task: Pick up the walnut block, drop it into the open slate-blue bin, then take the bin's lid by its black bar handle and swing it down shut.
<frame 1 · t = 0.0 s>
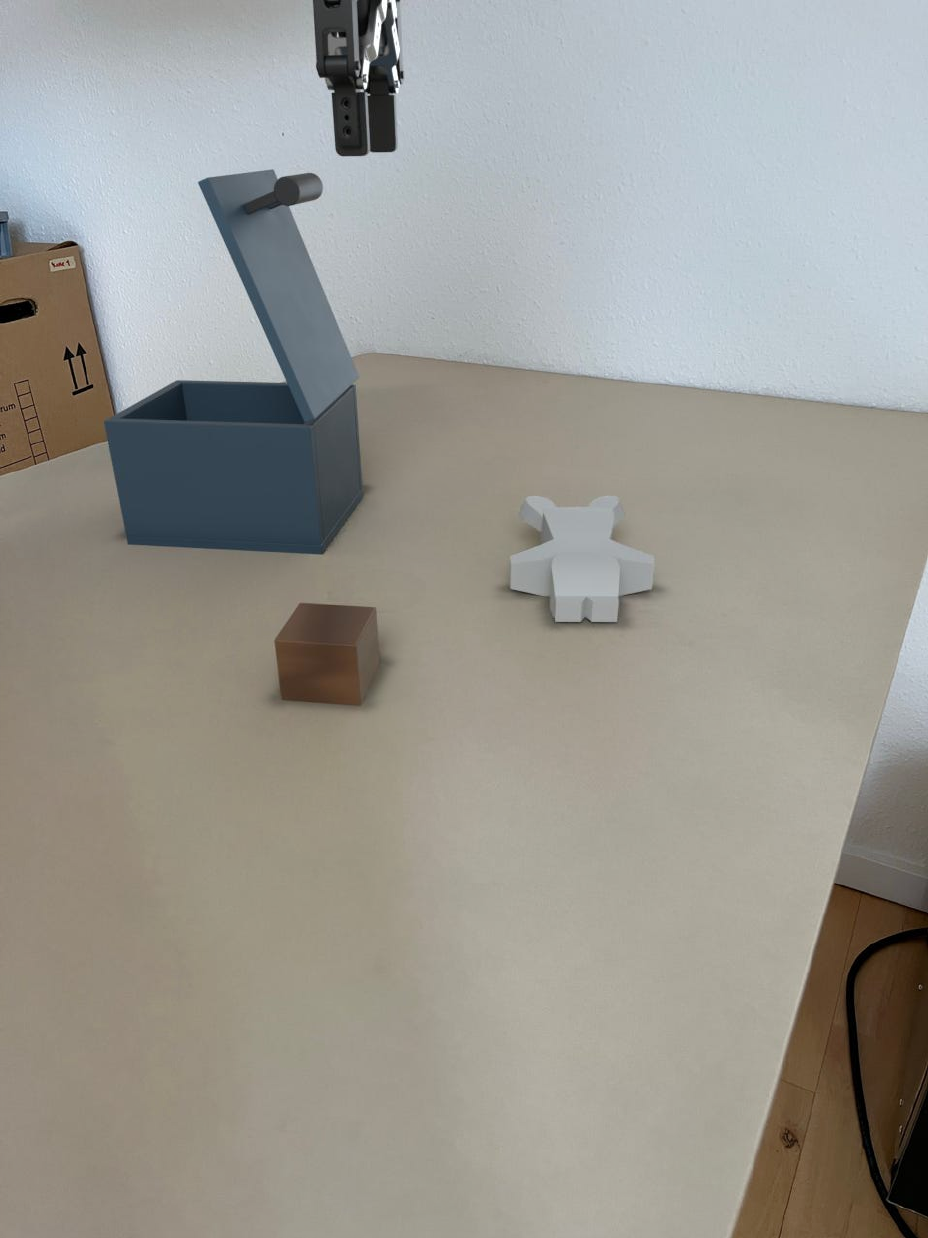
hand: (368, 153, 66), 27 cm above the table, tool pointing down, fingers open, 8 cm apart
bin: (252, 519, 77), on the table
bin lid: (314, 281, 68), point 19 cm above the table, hinge at 70.0°
block: (333, 692, 53), on the table
white teddy bear figure: (576, 587, 66), on the table
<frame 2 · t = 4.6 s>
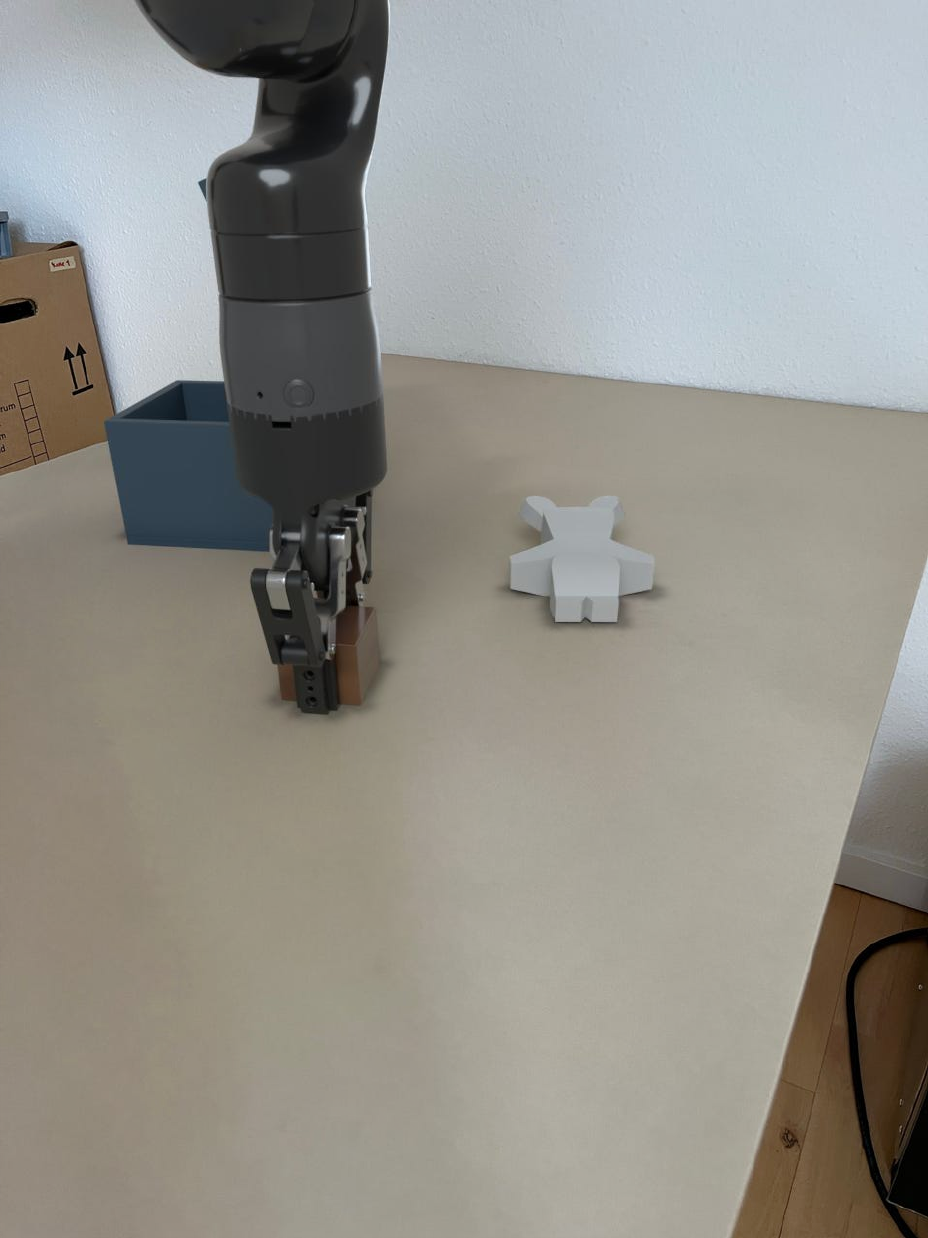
hand: (332, 688, 53), 0 cm above the table, tool pointing down, fingers closed on block, 4 cm apart
block: (333, 692, 53), on the table, touching gripper
everything else where it was.
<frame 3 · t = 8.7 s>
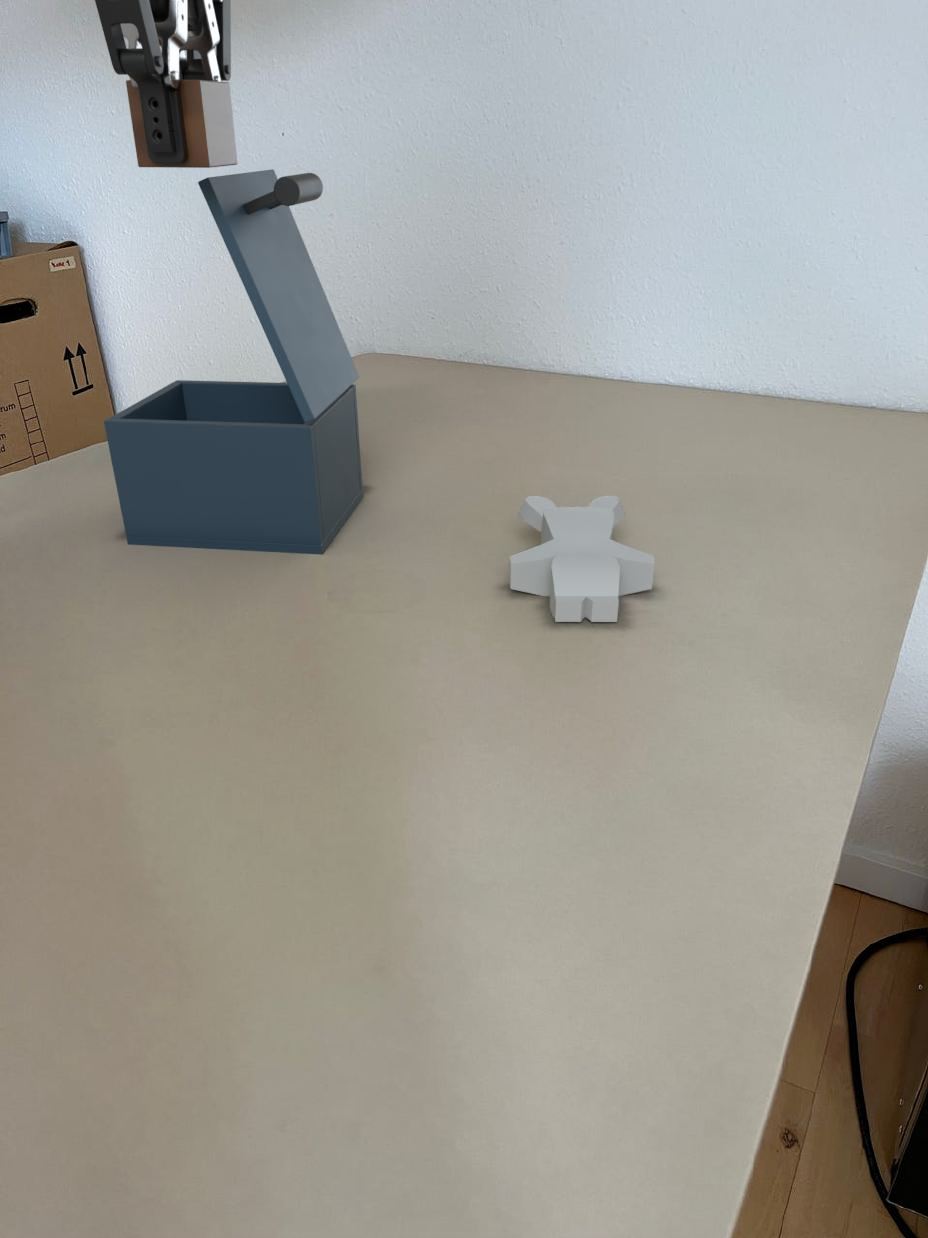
hand: (187, 159, 57), 27 cm above the table, tool pointing down, fingers closed on block, 4 cm apart
block: (189, 165, 57), point 27 cm above the table, touching gripper
everything else where it was.
when the fingers open (7 cm above the table, at t = 13.2 s): block drops 6 cm, resting on bin.
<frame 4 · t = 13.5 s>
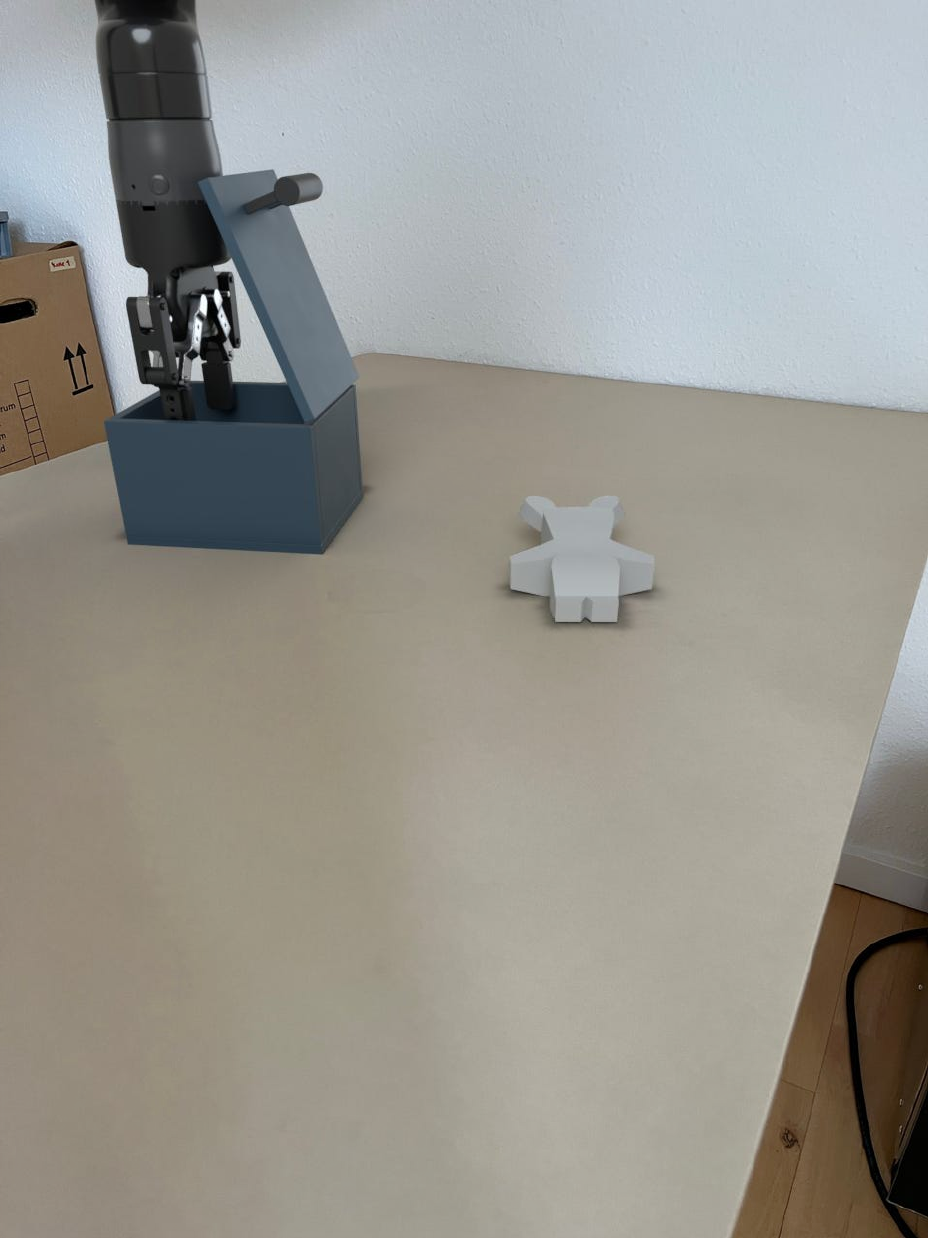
hand: (203, 421, 74), 8 cm above the table, tool pointing down, fingers open, 7 cm apart
block: (217, 508, 77), point 1 cm above the table, touching bin
everything else where it was.
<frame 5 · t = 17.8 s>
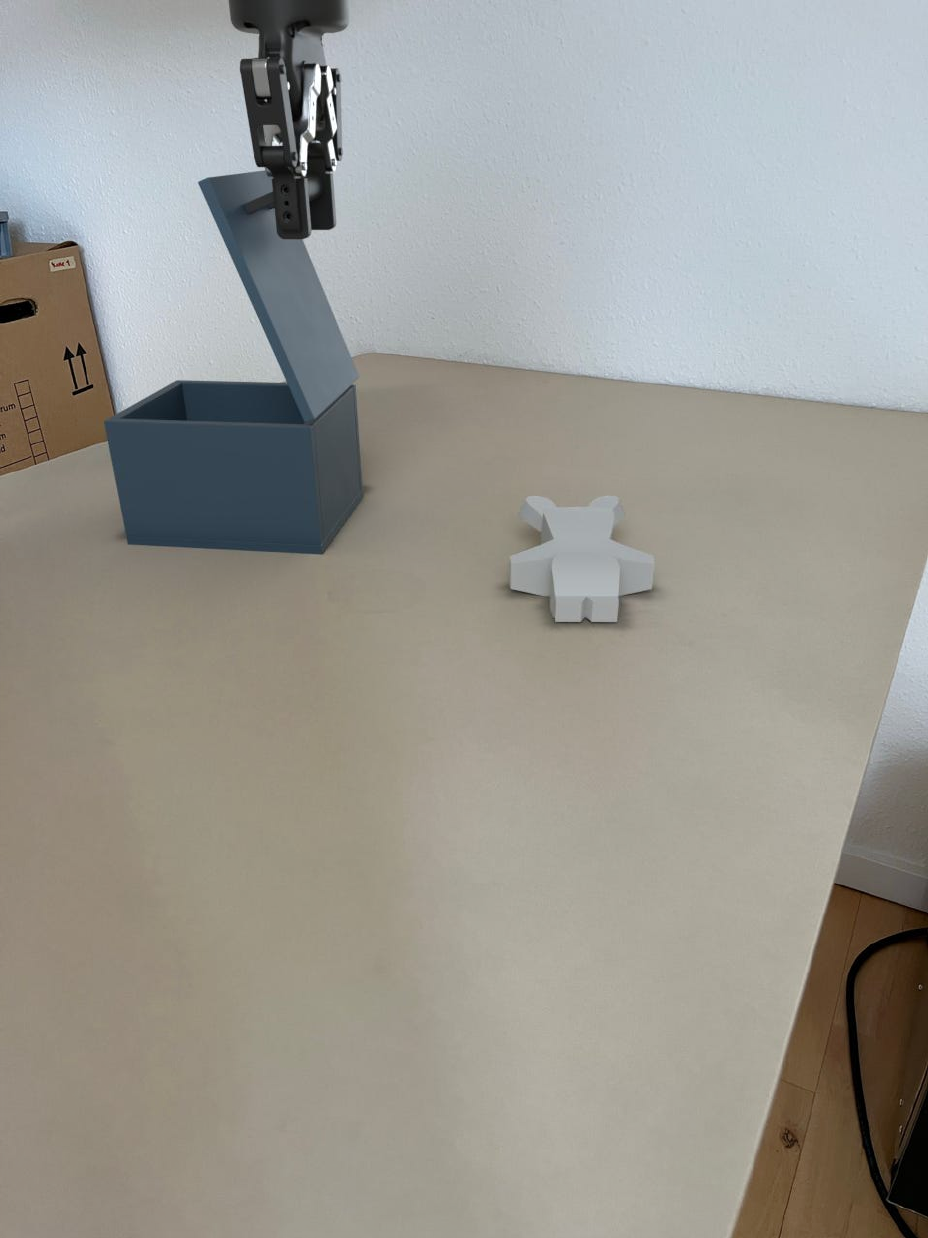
hand: (308, 232, 66), 22 cm above the table, tool pointing down, fingers closed on bin lid, 5 cm apart
bin lid: (314, 281, 68), point 19 cm above the table, hinge at 70.0°, touching gripper
everything else where it was.
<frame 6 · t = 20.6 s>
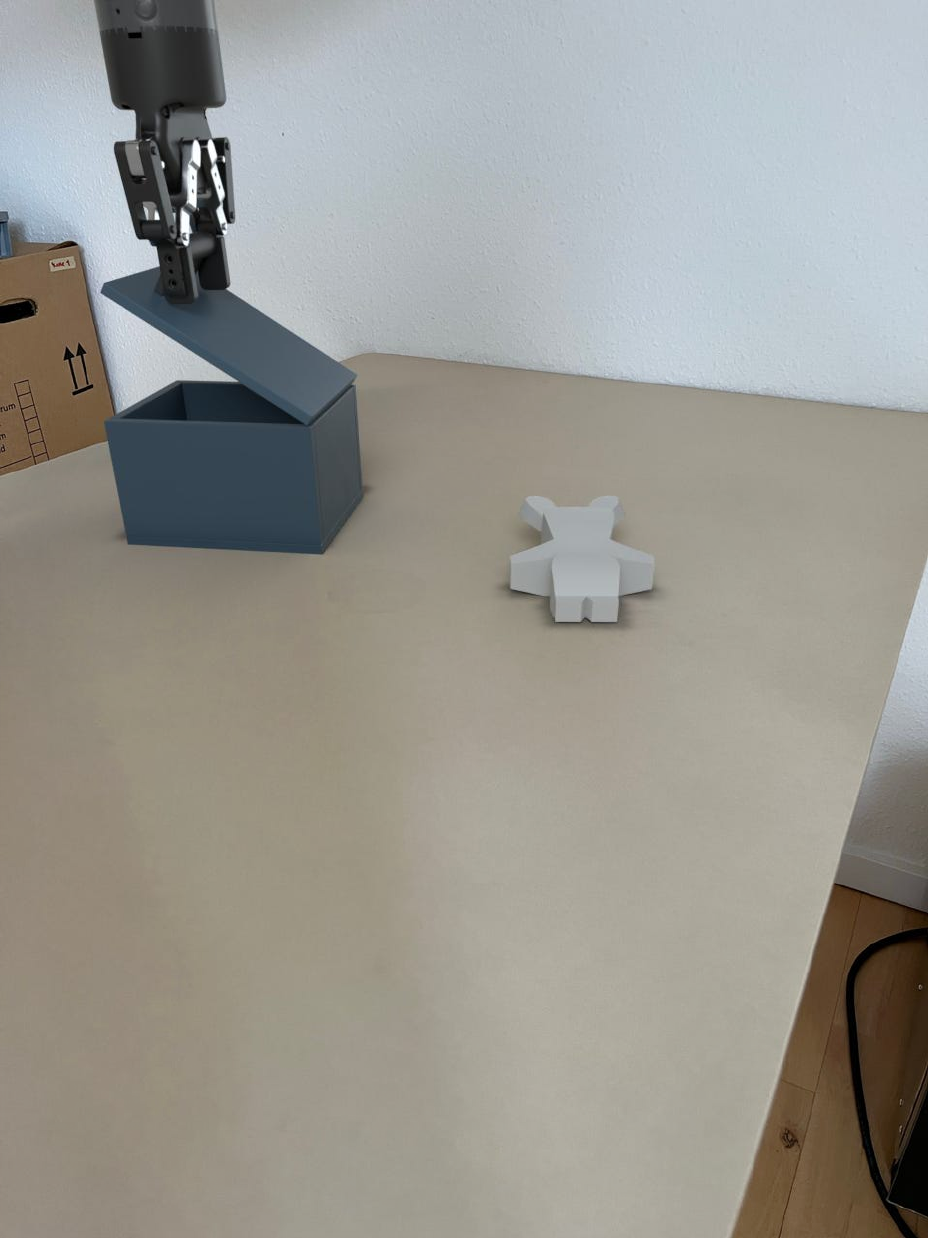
hand: (199, 294, 69), 18 cm above the table, tool pointing down, fingers closed on bin lid, 5 cm apart
bin lid: (251, 313, 69), point 16 cm above the table, hinge at 32.5°, touching gripper
everything else where it was.
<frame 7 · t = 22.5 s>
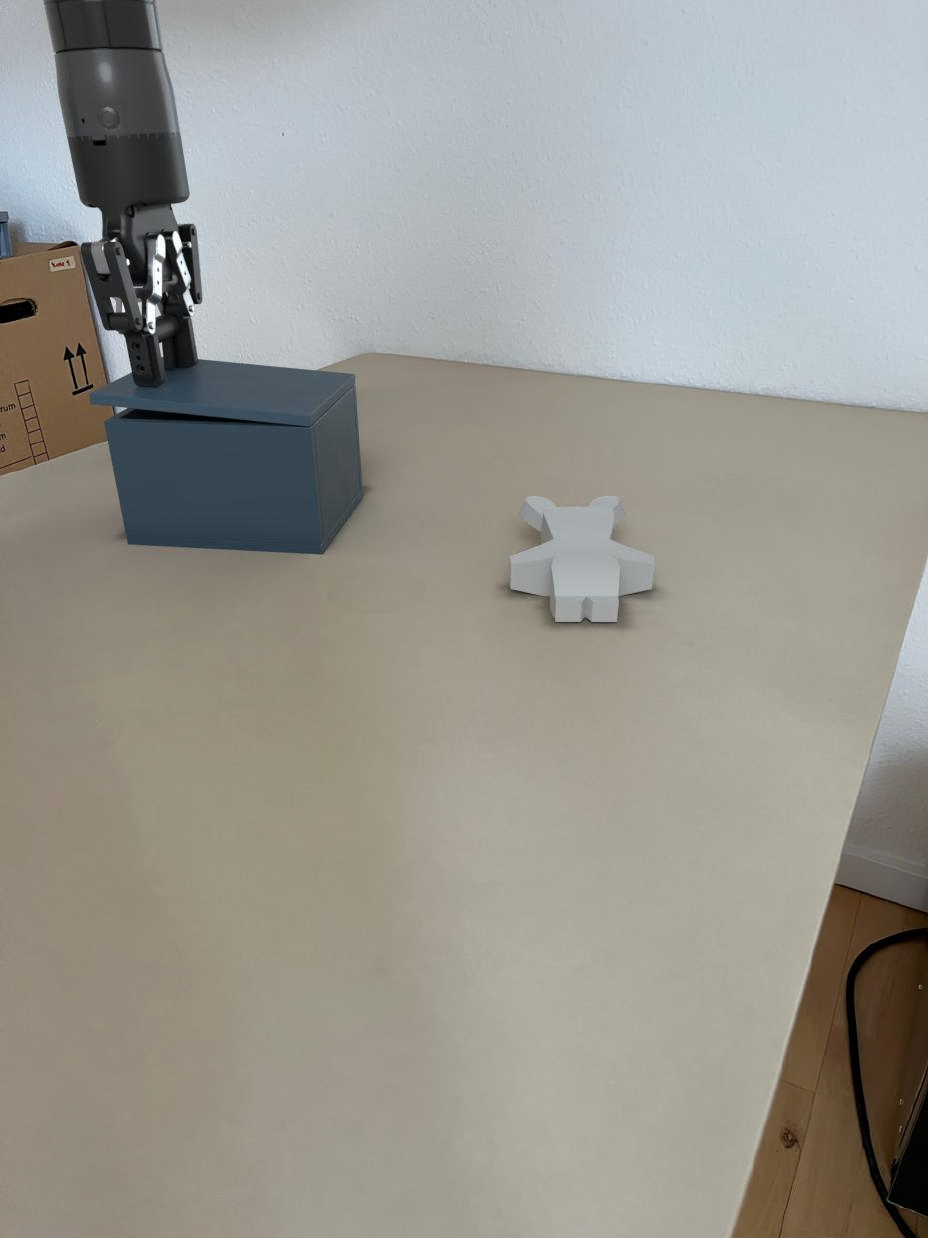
hand: (167, 374, 73), 12 cm above the table, tool pointing down, fingers closed on bin lid, 5 cm apart
bin lid: (229, 360, 71), point 13 cm above the table, hinge at 4.1°, touching gripper
everything else where it was.
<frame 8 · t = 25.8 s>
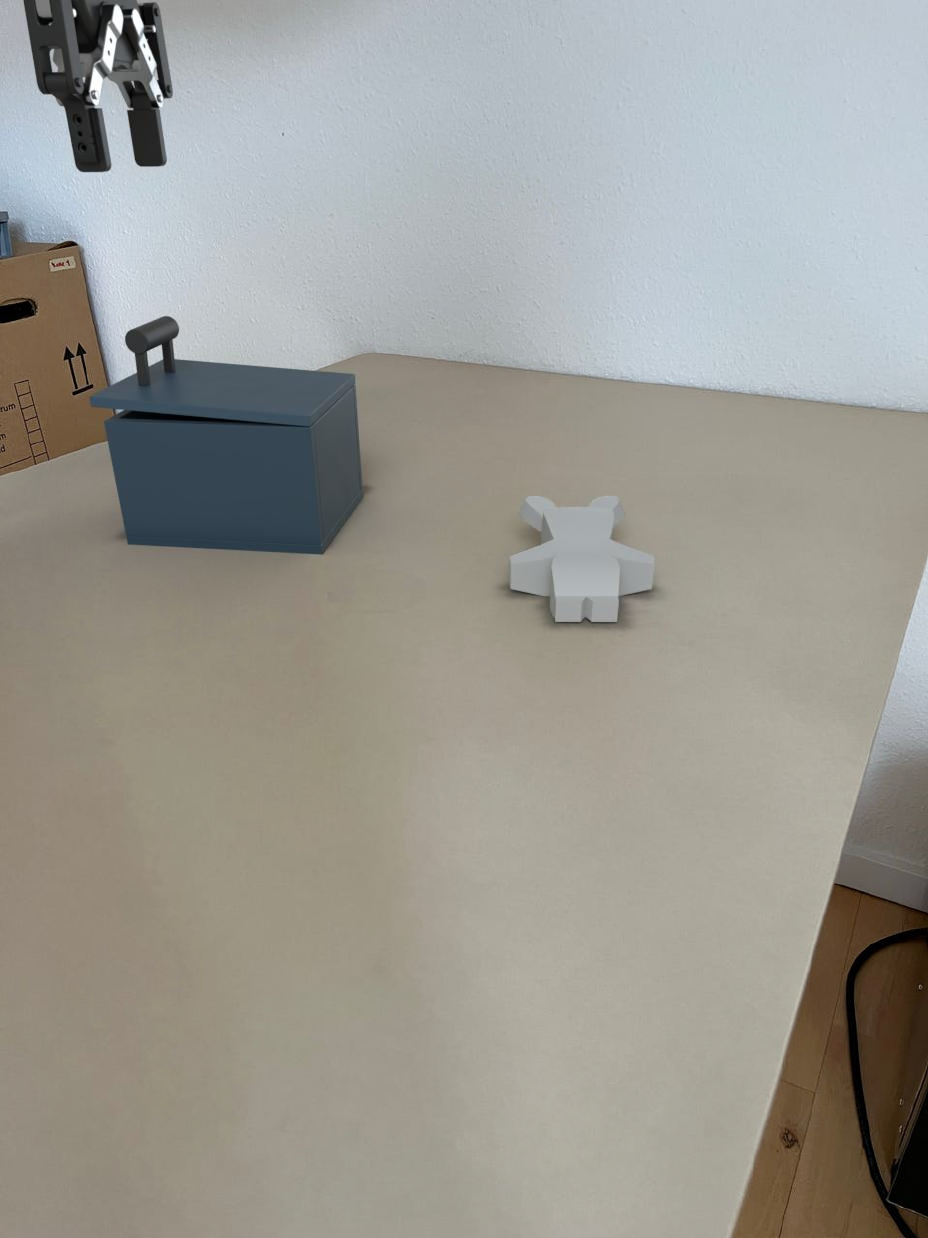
hand: (124, 168, 66), 26 cm above the table, tool pointing down, fingers open, 8 cm apart
bin lid: (228, 361, 71), point 13 cm above the table, hinge at 3.3°
everything else where it was.
at the end: block inside the target area in the bin (3.0 cm from its centre), point 0.8 cm above the bin's base; bin lid at +3° (first picture: +70°) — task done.
